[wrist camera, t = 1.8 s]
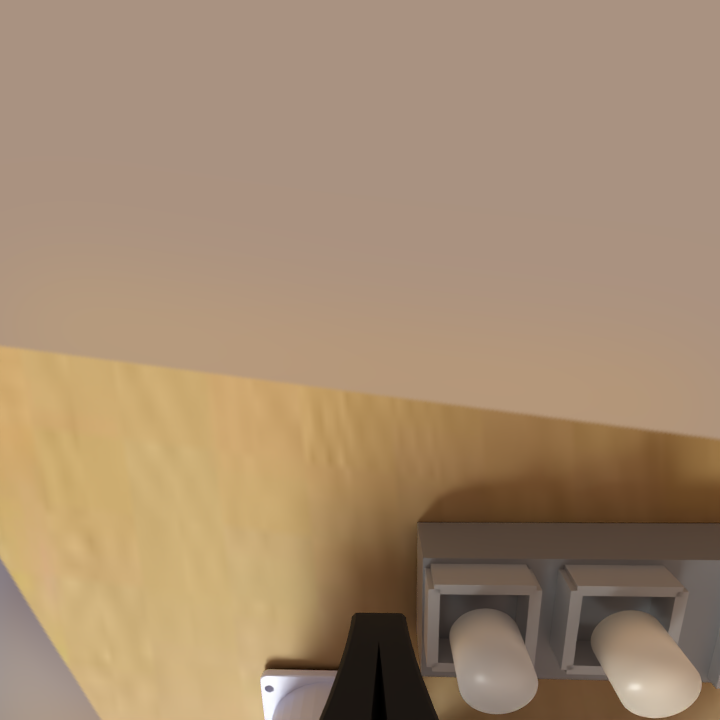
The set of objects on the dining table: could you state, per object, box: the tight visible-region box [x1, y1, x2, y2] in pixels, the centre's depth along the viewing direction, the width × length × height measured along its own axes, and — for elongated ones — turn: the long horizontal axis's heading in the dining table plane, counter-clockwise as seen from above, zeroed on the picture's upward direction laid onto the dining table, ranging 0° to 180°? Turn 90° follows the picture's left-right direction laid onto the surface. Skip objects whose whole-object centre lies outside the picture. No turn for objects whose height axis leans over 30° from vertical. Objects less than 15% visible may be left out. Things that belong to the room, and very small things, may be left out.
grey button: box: [449, 608, 538, 714], centre depth 16 cm, size 3×3×2 cm
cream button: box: [591, 610, 702, 718], centre depth 16 cm, size 3×3×2 cm
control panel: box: [416, 522, 720, 689], centre depth 19 cm, size 7×19×4 cm, turn 92°
